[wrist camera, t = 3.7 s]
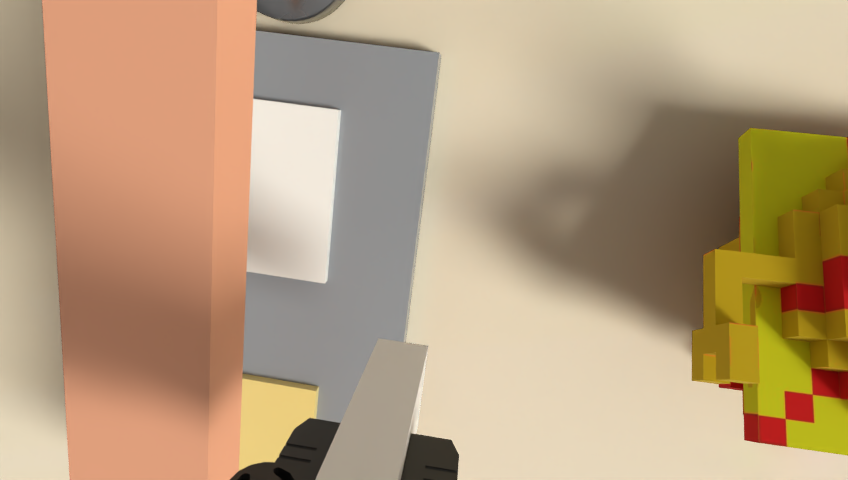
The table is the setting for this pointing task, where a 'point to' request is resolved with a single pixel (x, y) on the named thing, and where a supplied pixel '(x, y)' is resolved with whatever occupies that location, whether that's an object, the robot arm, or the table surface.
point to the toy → (783, 293)
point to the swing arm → (151, 230)
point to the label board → (328, 223)
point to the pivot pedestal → (298, 9)
